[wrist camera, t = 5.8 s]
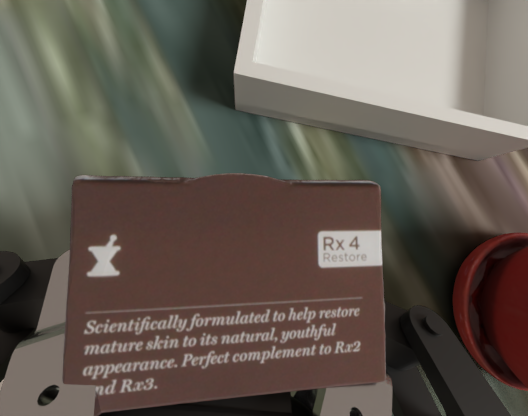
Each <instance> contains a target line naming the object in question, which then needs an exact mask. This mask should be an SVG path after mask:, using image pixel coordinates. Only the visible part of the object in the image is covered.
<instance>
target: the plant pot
mask: <svg viewBox="0 0 528 416" xmlns="http://www.w3.org/2000/svg"><path fill="white" fill-rule="evenodd" d="M453 311H454V317H455V322H456V325H457V328H458V331H459V334H460V336H461V338H462V341H463V343H464V344H465V346H466V348H467V350H468V351H469V353H470V354H471V355H472V357H473V358H474V359H475V360H476V362H477V363H478V364H479V365H480V366H481V367H482V368H483V369H484V370H486V371H487V372H488V373H489V374H491V375H492V376H493V377H495V378H496V379H498V380H499V381H501V382H503V383H504V384H506V385H509V386H511V387H514V388H517V389H520V390H526V391H528V234H527V233H509V234H503V235H499V236H496V237H494V238H491V239H489V240H487V241H485V242H484V243H482V244H481V245H479V246H478V247H477V248H475V249H474V250H473V251H472V252H471V253H470V254H469V255H468V256H467V257H466V259H465V260H464V262H463V263H462V265H461V266H460V268H459V271H458V273H457V276H456V279H455V284H454V290H453Z"/></svg>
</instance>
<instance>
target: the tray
mask: <svg viewBox="0 0 528 416" xmlns="http://www.w3.org/2000/svg"><path fill="white" fill-rule="evenodd" d="M234 92H235V110H238V111H243V112H247V113H252V114H257V115H262V116H266V117H271V118H276V119H281V120H286V121H290V122H295V123H300V124H305V125H309V126H314V127H319V128H324V129H328V130H333V131H338V132H343V133H348V134H352V135H357V136H362V137H367V138H371V139H376V140H381V141H386V142H390V143H395V144H400V145H405V146H410V147H414V148H419V149H424V150H429V151H433V152H438V153H443V154H448V155H453V156H457V157H462V158H467V159H472V160H476V161H480V160H484V159H488V158H491V157H495V156H498V155H502V154H506V153H509V152H513V151H517V150H520V149H524V148H527V147H528V0H247V3H246V9H245V14H244V20H243V25H242V30H241V36H240V41H239V47H238V52H237V57H236V63H235V68H234Z"/></svg>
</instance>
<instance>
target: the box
mask: <svg viewBox="0 0 528 416" xmlns="http://www.w3.org/2000/svg"><path fill="white" fill-rule="evenodd" d="M385 379H386V360H385V310H384V287H383V266H382V238H381V188H380V186H379V185H378V184H377V183H375V182H373V181H370V180H278V179H275V178H271V177H268V176H262V175H254V174H242V173H227V174H216V175H209V176H204V177H199V178H184V177H176V178H166V177H129V176H90V175H81V176H76V177H75V178H74V181H73V185H72V209H71V233H70V256H69V274H68V288H67V302H66V320H65V333H64V352H63V377H62V381H63V383H64V384H71V385H96V389H97V395H98V400H99V405H100V410H101V412H102V413H104V412H113V411H121V410H129V409H138V408H148V407H158V406H166V405H174V404H181V403H194V402H201V401H211V400H220V399H228V398H236V397H246V396H255V395H264V394H273V393H282V392H291V391H300V390H310V389H321V388H328V387H335V386H345V385H356V384H366V383H379V382H383V381H385Z"/></svg>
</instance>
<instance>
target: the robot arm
mask: <svg viewBox="0 0 528 416" xmlns="http://www.w3.org/2000/svg"><path fill="white" fill-rule="evenodd" d="M69 256H70V250H68V251H67V252H65V253H64V254H62V255H61V256H60V257H59V258H56V259H47V260H39V261H30V262H24V261H23V260H22V259H21V258H20V257H19V256H18V255H17V254H15V253H13V252H8V251H0V382H1V381H2V380H3V379H4V381H3V385H2V388H1V391H0V416H392V412H393V414H394V416H442V415H441V414H440V412H439V410H438V408H437V406H436V404H435V402H434V400H433V398H432V396H431V394H430V392H429V390H428V388H427V386H426V385H425V383H424V381H423V379H422V377H421V375H420V373H419V371H418V369H417V367H416V366H417V365H420V364H421V366H422V368H423V370H424V372H425V374H426V376H427V378H428V379H429V381H430V383H431V385H432V387H433V389H434V391H435V393H436V395H437V396H438V398H439V400H440V402H441V404H442V406H443V408H444V410H445V412H446V415H447V416H511V415H510V414H509V412H508V411H507V409H506V408H505V406H504V405H503V403H502V402H501V401H500V399H499V398H498V396H497V395H496V393H495V392H494V391H493V389H492V388H491V386H490V385H489V383H488V382H487V380H486V379H485V378H484V376H483V375H482V373H481V372H480V370H479V369H478V368H477V366H476V365H475V363H474V362H473V360H472V359H471V357H470V356H469V355H468V353H467V352H466V350H465V349H464V347H463V346H462V344H461V343H460V342H459V340H458V339H457V337H456V336H455V334H454V333H453V332H452V330H451V329H450V327H449V326H448V325H447V323H446V322H445V321H444V320H443V319H442V318H441V317H440V316H439V315H438V314H436V313H435V312H434V311H432V310H430V309H429V308H426V307H424V306H414V307H412V308H411V309H409V310H408V311H407V310H404V309H402V308H400V307H397V306H395V305H393V304H391V303H388V302H386V301H384V310H385V360H386V379H385V381H383V382H379V383H366V384H356V385H345V386H335V387H328V388H321V389H310V390H300V391H291V392H282V393H273V394H264V395H255V396H246V397H236V398H228V399H220V400H211V401H201V402H194V403H181V404H174V405H166V406H158V407H148V408H138V409H129V410H121V411H113V412H104V413H102V412H101V410H100V405H99V400H98V395H97V389H96V385H71V384H64V383H63V381H62V377H63V352H64V333H65V320H66V302H67V288H68V274H69Z"/></svg>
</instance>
